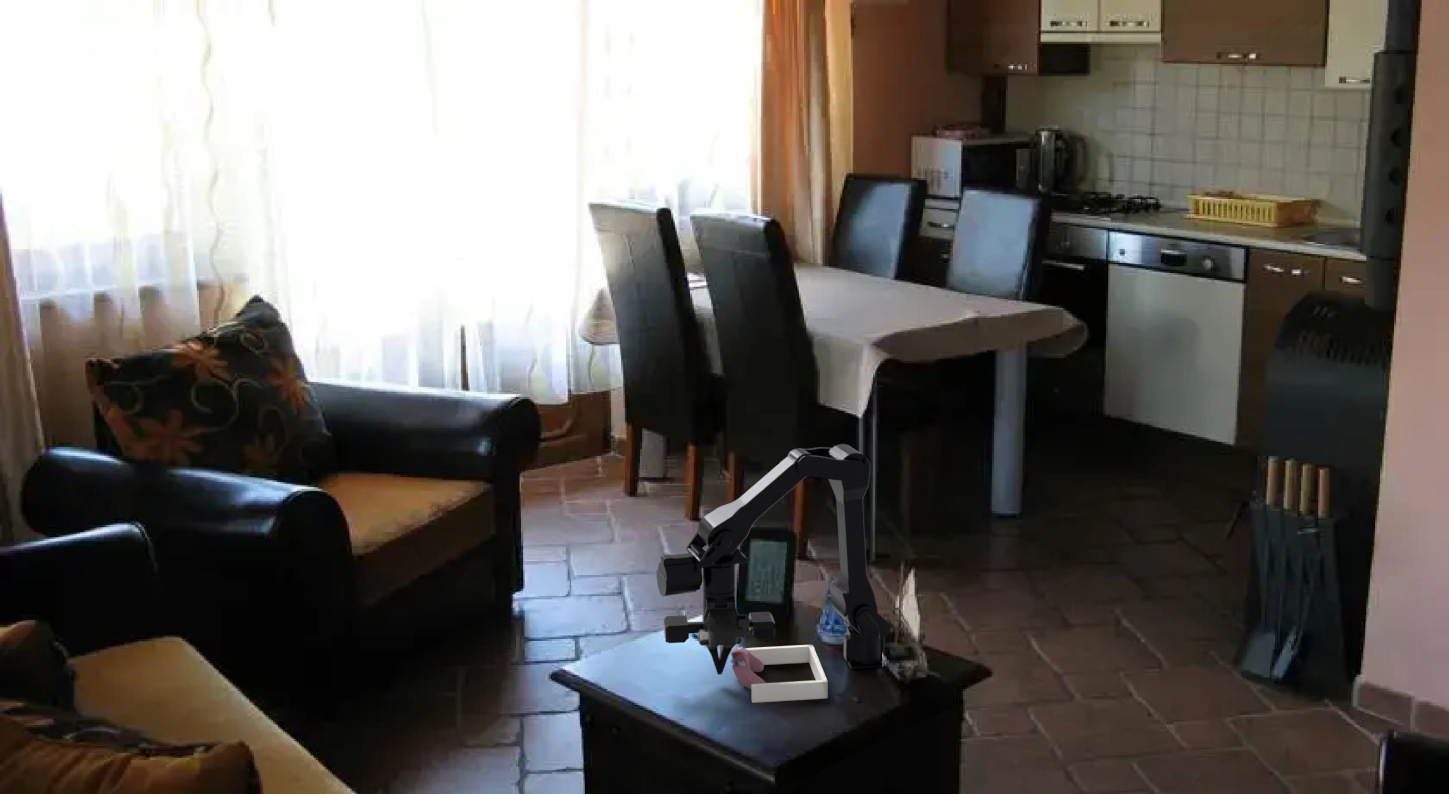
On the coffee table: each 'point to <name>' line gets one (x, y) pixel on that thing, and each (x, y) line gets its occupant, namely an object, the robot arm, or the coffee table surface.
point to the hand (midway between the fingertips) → (719, 673)
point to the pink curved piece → (746, 667)
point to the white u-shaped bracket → (789, 689)
